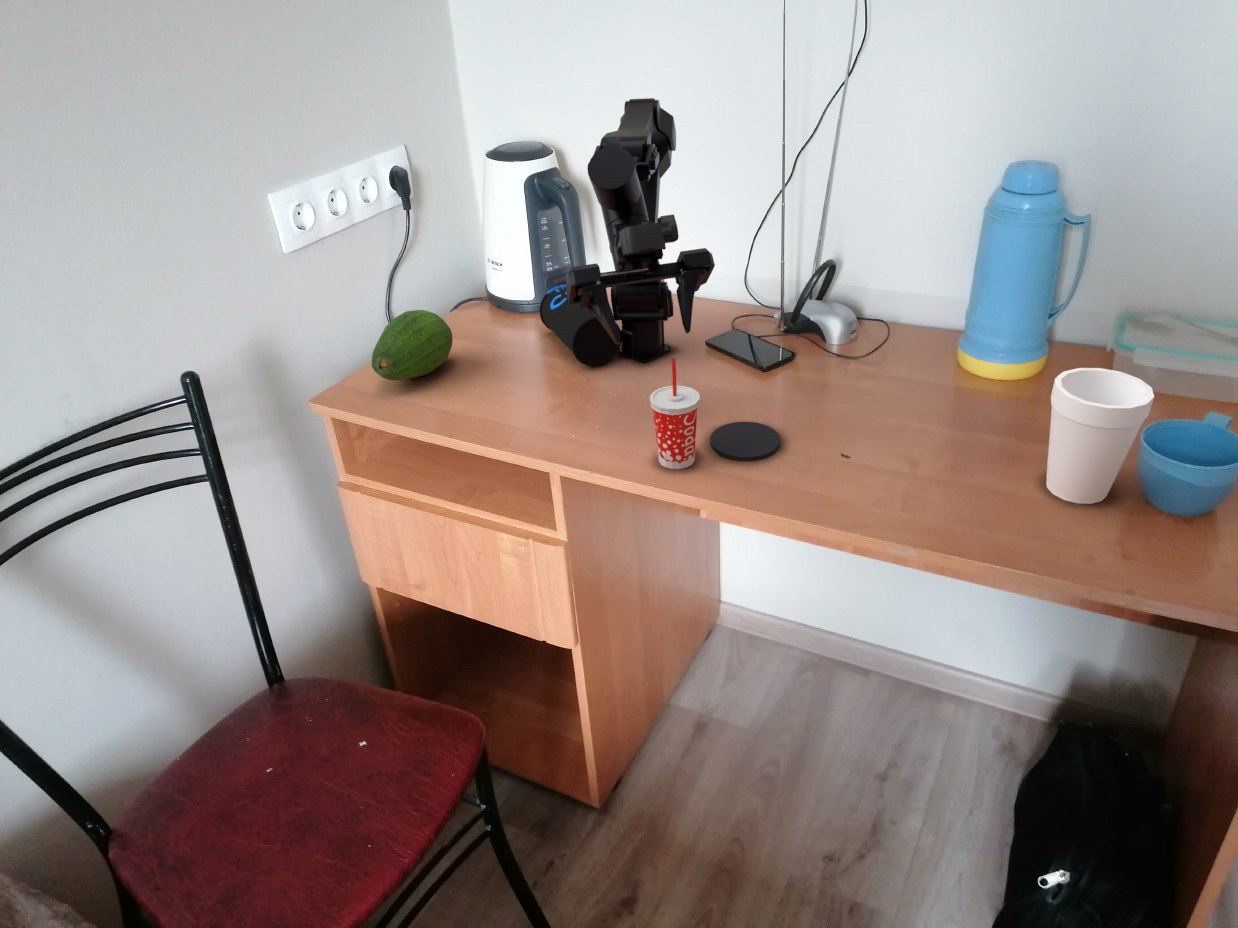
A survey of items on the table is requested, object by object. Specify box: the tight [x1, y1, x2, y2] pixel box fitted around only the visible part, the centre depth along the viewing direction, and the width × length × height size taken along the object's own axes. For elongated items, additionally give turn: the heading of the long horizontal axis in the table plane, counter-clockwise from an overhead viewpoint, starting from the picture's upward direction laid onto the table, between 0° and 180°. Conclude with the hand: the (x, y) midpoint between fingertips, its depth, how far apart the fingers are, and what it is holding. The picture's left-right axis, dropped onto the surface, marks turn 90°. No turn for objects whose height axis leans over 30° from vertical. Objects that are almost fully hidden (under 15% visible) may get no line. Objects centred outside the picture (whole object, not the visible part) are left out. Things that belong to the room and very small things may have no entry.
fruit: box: [371, 309, 453, 381], centre depth 131 cm, size 15×10×10 cm, turn 150°
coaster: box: [709, 421, 781, 462], centre depth 110 cm, size 9×9×1 cm
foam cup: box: [1045, 367, 1155, 505], centre depth 94 cm, size 10×9×13 cm
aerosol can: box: [539, 284, 622, 368], centre depth 138 cm, size 8×8×20 cm
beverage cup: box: [649, 358, 701, 470], centre depth 104 cm, size 6×6×14 cm
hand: (653, 337), depth 108 cm, fingers open, 9 cm apart
